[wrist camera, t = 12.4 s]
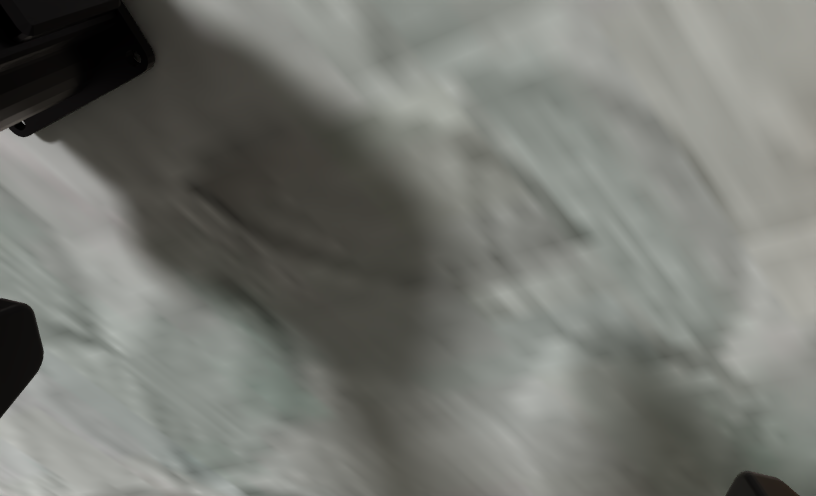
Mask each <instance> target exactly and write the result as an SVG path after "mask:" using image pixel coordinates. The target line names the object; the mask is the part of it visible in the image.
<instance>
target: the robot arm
mask: <svg viewBox="0 0 816 496" xmlns="http://www.w3.org/2000/svg"><path fill="white" fill-rule="evenodd" d="M133 50H134V51H136V52H137V53H138V54H139V56H140V58H141V63H140V62H138V61H137V60H136V59H135V58H134V56H133ZM154 63H155V55H154V52H153V50H152V48H151V46H150V45H149V43H148V42H147V40H146V38H145V37H144V35H143V34H142V32H141V31H140V29H139V27H138V26H137V24H136V23H135V21H134V20H133V18H132V16H131V15H130V13H129V12H128V10H127V9H126V7H125V5H124V4H123V2H122V1H121V0H0V131H2V130H4V129H7V128H9V129H10V130H11V131H12V132H13V133H14V134H16V135H18V136H21V137H27V136H30V135H31V134H33V133H35V132H37V131H39V130H41V129H43V128H44V127H46V126H48V125H50V124H52V123H54V122H55V121H57V120H59V119H61V118H63V117H64V116H66V115H68V114H70V113H72V112H74V111H75V110H77V109H79V108H81V107H83V106H84V105H86V104H88V103H90V102H92V101H93V100H95V99H97V98H99V97H101V96H103V95H104V94H106V93H108V92H110V91H112V90H113V89H115V88H117V87H119V86H121V85H123V84H124V83H126V82H128V81H130V80H132V79H133V78H135V77H137V76H139V75H141V74H143V73H144V72H146V71H148V70H150V69H151V68H152V67H153V66H154ZM23 120H24V122H25V125H24V124H23V123H22V121H23ZM43 354H44V351H43V346H42V342H41V338H40V334H39V330H38V326H37V322H36V318H35V314H34V311H33V310H32V308H31V307H30V306H29V305H27V304H25V303H21V302H17V301H12V300H8V299H3V298H0V418H1V417H2V416H3V414H4V413H5V412H6V411H7V409H8V408H9V407H10V406H11V404H12V403H13V402H14V401H15V400H16V398H17V397H18V396H19V395H20V393H21V392H22V391H23V390H24V388H25V387H26V386H27V385H28V383H29V382H30V381H31V380H32V378H33V377H34V376H35V375H36V373H37V372H38V370H39V368H40V366H41V364H42V361H43ZM725 496H799V495H798V494H797V493H796V492H794V491H793V490H792V489H791V488H790V487H789V486H788V485H786V484H785V483H784V482H783V481H781V480H780V479H778V478H776V477H772V476H768V475H763V474H759V473H755V472H750V471H744V472H741V473H740V474H738V475H737V477H736V478H735V480H734V481H733V483H732V485H731V487H730V488H729V490H728V492H727V494H726V495H725Z"/></svg>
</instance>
